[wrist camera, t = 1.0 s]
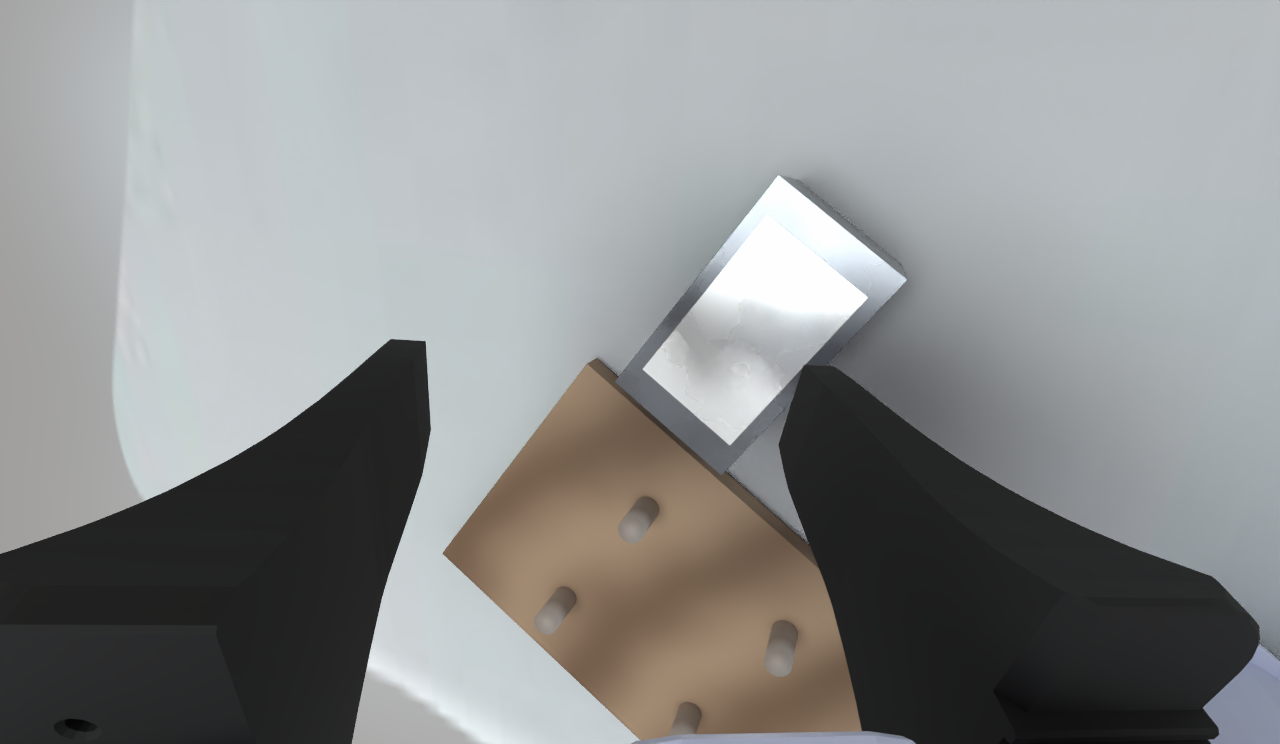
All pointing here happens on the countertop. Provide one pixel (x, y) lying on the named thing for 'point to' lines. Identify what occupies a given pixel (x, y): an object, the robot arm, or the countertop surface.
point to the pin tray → (657, 577)
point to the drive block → (760, 322)
